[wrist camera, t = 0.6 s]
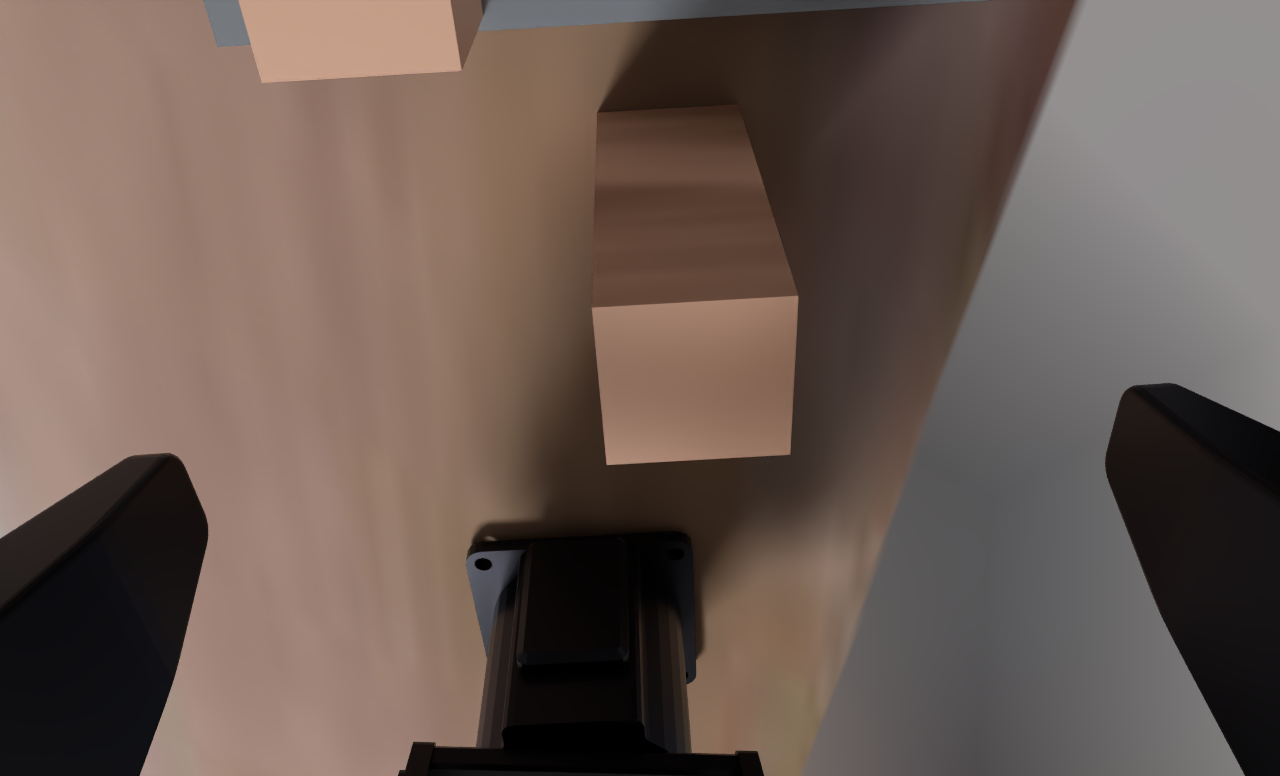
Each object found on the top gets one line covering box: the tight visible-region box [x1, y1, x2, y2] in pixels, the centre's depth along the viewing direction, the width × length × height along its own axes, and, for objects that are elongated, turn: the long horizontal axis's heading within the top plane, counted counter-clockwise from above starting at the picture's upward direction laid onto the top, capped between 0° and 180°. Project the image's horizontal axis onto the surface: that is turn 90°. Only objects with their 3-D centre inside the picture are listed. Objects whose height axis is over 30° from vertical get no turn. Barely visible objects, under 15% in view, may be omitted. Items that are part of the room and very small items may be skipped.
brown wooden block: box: [592, 104, 799, 465], centre depth 18 cm, size 3×3×8 cm
